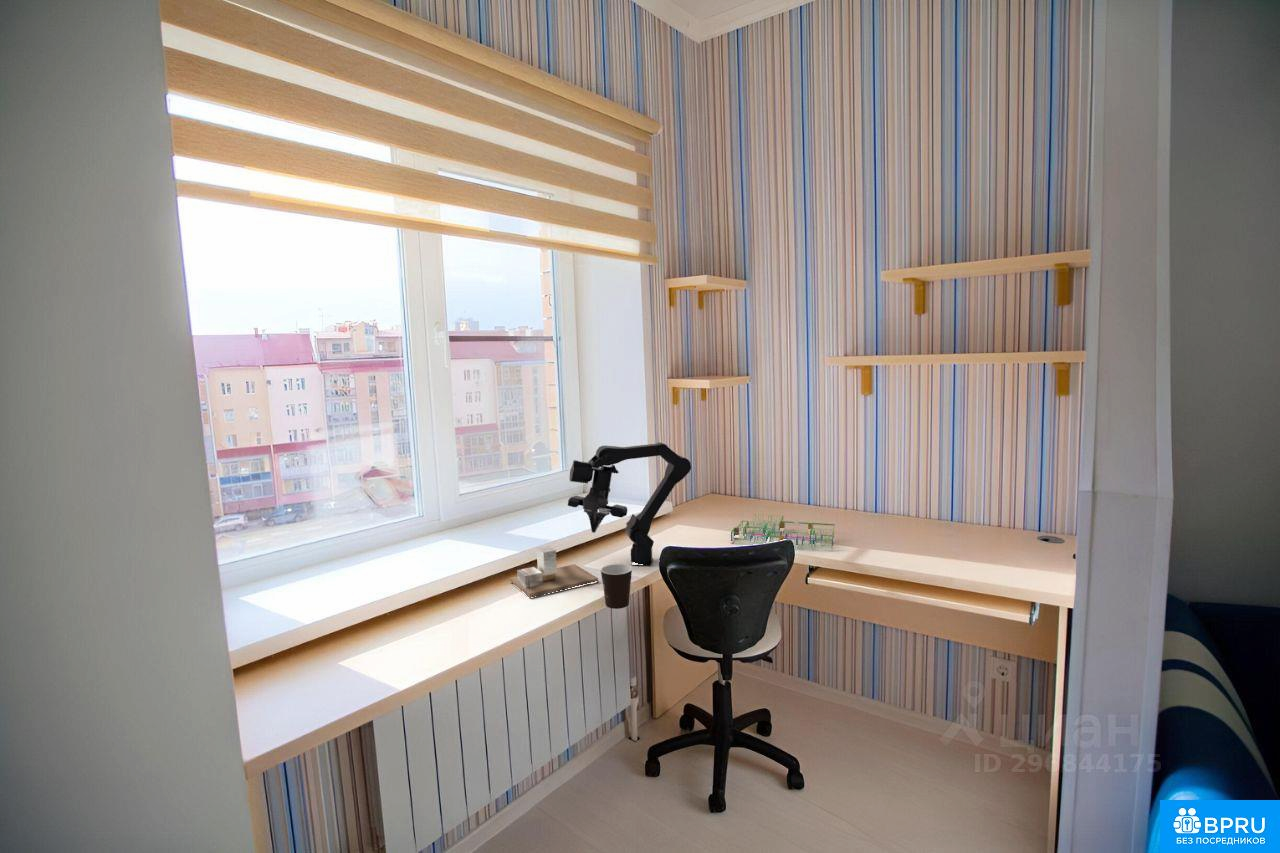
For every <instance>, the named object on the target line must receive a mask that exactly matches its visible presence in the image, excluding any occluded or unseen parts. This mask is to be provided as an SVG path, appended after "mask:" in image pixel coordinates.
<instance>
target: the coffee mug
mask: <svg viewBox="0 0 1280 853" xmlns="http://www.w3.org/2000/svg"><path fill="white" fill-rule="evenodd" d="M632 572H633V568H632V566H630V565H628V564H623V563H613V564H607V565H605V566H602V567H601V568H600V575H601V581H602V582H601V583H602V588H603V589H602V590H603V596H604V601H605V606H606V607H607V608H609V609H613V610H615V609H616V610H619V609H624V608H627V607H628V606H629V605H630V594H631V584H632V575H633V573H632Z"/></svg>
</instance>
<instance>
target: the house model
mask: <svg viewBox="0 0 1280 853" xmlns="http://www.w3.org/2000/svg"><path fill="white" fill-rule="evenodd" d="M759 515H760V516H763V514H760V513H759V514H758V513H753V516H754V517H755V519H754V520H741V522H740V523H739V524H738V526H737V527H736V526H735V527H733V529H732V531H730V542H731V541H733V537H734V536H735V535H739V536H740V534H741V535H742V537H743V536H744V537H745V534H746V537H745V538H746V539H745V538H744V539H743V538H739V539H737V541H745V540H747V541H748V540H749V542H750V541H751V539H752V538H753V536H754V537H755V538H754V542H755V541H756V535H757V538H759V537H760V538H763V537H764V539H763V540H764V541H765V542H766V541H767V539H768V537H769V536H770V541H771V537H773V538H774V537H776V538H779V541H780V540H783V539H787V540H792V541H793V544H795V546H796V545H798V546H799V539H801V546H802V545H803V541H804V542H805V541H806V540H807V541H809V545H810V544H811V546H812V545H813V544H814V545H815V541H816V542H817V541H820V542H821V541H823V536H824V537H826V536H827V537H828V538H825V540H824V541H823V542H824V544H823V545H822V547H825V546H826V547H829V544H827V541H831V547H832V546H833V547H834V543H833V538H834V537H835V535H834V534H835V529H829V528H828V529H827V528H821V531H823V532H820V533H819V532H818V531H819V528H814V525H820V526H833V527H835V523H819V522H803V521H802V522H801V521H800V522H799V521H796V524H797V523H798V525H807V527H808V529H811V530H810V534H808V531H805V532H803V531H802V532H803V533H804V534H803V533H802V534H800V535H799V532H798V531H796V532H795V531H791V530H785V531H786V532H784V531H783V532H782V531H781V532H780V531H779V530H780V528H785V526H786V525H785V524H795V521H786V520H784V516H783V515H781V518H780V520H779V521H778V519H776V520H775V522H773V517H779V514H778V515H776V514H774V515H773V514H767V521H763V520H762V518H760V519H759V521H760V522H759V521H757V516H759ZM745 522H746V523H745ZM755 522H756V523H757V526H753V523H755ZM771 522H772V523H773V524H772V526H771V527H768V523H769V524H771ZM744 523H745V525H744ZM776 523H778V527H779V528H778V529H777V528H776ZM762 524H763V526H762ZM743 525H744V526H743ZM759 525H760V526H759ZM742 528H743V532H742ZM748 528H749V529H751V528H752V532H750V533H749V532H748V533H747V529H748ZM757 528H758V533H757ZM785 529H786V528H785ZM808 529H807V530H808ZM761 530H762V533H761ZM766 530H767V532H766ZM812 530H813V531H812ZM816 530H817V532H816ZM824 530H826V531H830V532H831V531H832V533H831V534H829V532H828V533H827V532H826V534H825V533H824ZM740 531H741V533H740ZM787 531H788V532H787ZM779 532H780V534H779V535H778V534H777V533H779ZM791 532H792V534H794V535H795V534H796V536H792V535H788V534H790V533H791ZM812 532H813V534H812ZM765 533H766V535H765ZM773 533H774V535H772V534H773ZM784 533H785V535H784ZM763 534H764V535H763ZM747 535H748V536H747ZM759 535H761V536H759ZM808 535H809V537H808ZM811 535H812V538H811ZM814 535H815V538H814ZM805 536H806V537H805ZM817 536H818V538H817ZM819 536H820V538H819ZM747 537H748V538H747ZM765 538H766V540H765ZM811 539H812V540H811ZM814 539H815V540H814ZM834 539H835V538H834ZM764 541H763V542H764ZM756 542H757V541H756Z"/></svg>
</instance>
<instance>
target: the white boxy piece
mask: <svg viewBox="0 0 1280 853" xmlns="http://www.w3.org/2000/svg"><path fill="white" fill-rule="evenodd" d="M536 559H537V562H536V563H537V564H536V565H537V569H538V570H539V571H540V572H542V581H546V580H551V579H555V578H556V577H555V573H557V568H558V567H557V550H556V549H555V548H553V547H551V546H550V545H549V546H544V547H539V548H536Z"/></svg>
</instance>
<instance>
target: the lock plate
mask: <svg viewBox="0 0 1280 853" xmlns="http://www.w3.org/2000/svg"><path fill="white" fill-rule="evenodd" d="M516 573H517V576H511V577H509V582H510V581H511V582H512V583H513V584H514V585H515V586H517V587H518V588H519V589H520V590H521V591H523V592H524V593H525V594H526V595H527V596H528V597H530V598H531V597H535V596H540V597H542V596H541V595H544V594H548V593H552V592H556V591H560V590H565V589H568V588H572V587H575V586H579V585H583V584H587V583H591V582H595V581H598V582H599V577H596V576H595V575H594V574H592V573H590V572H588V571H587V570H585V569H583V568H582V567H580V566H579V565H576V564H575V563H574V564H569V565H564V566H559V567H557V573H555V577H556V578H555V579H551V580H546V581H542V572H540V571H539V570H538V568H537V567H534V566H532V567H531V566H530V567H526V568H521V569H517V570H516ZM515 586H514V587H515ZM520 590H519V591H520ZM521 591H520V592H521ZM525 594H524V595H525ZM526 595H525V596H526ZM527 596H526V597H527ZM544 596H545V595H544ZM528 597H527V598H528ZM530 598H529V599H530ZM531 599H532V598H531Z"/></svg>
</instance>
